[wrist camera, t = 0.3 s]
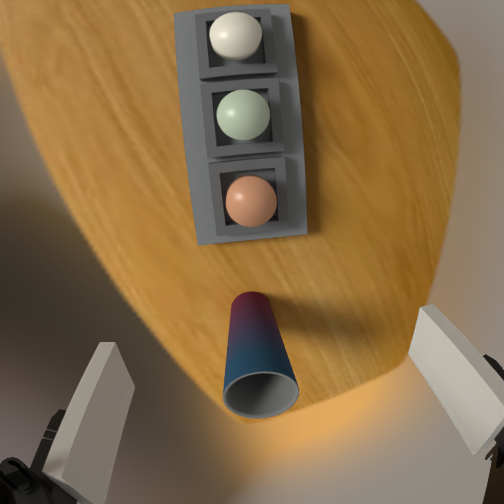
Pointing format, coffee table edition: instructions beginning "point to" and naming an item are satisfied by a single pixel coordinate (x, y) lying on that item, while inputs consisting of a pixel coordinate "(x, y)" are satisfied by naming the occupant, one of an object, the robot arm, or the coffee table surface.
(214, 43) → the button cream
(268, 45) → the panel
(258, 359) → the cup
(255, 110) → the button sage
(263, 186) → the button rust
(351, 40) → the coffee table surface
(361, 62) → the coffee table surface
